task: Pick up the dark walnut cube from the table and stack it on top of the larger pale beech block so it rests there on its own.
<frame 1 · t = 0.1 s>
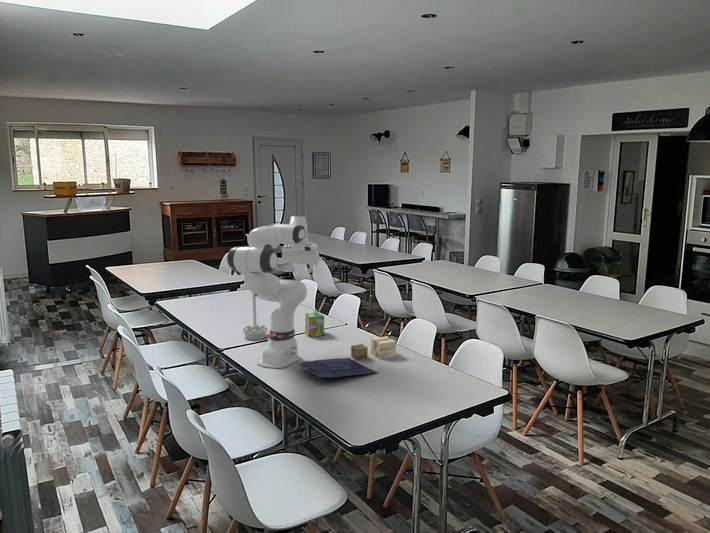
hand: (301, 271, 276), 39 cm above the table, fingers open, 8 cm apart
flag stand: (255, 336, 295), on the table
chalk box: (314, 334, 298), on the table
beech block: (383, 355, 264), on the table
walnut cube: (359, 358, 260), on the table
dark flat piece: (336, 372, 242), on the table
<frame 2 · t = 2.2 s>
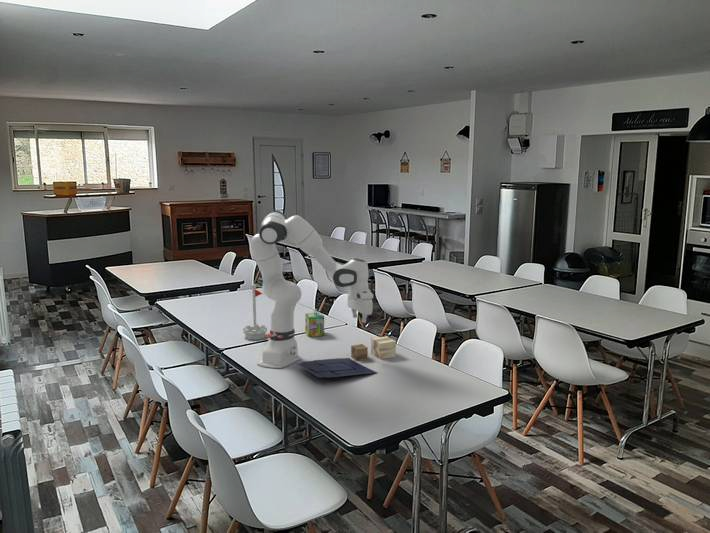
hand: (359, 319, 257), 19 cm above the table, fingers open, 8 cm apart
nothing on the table moved.
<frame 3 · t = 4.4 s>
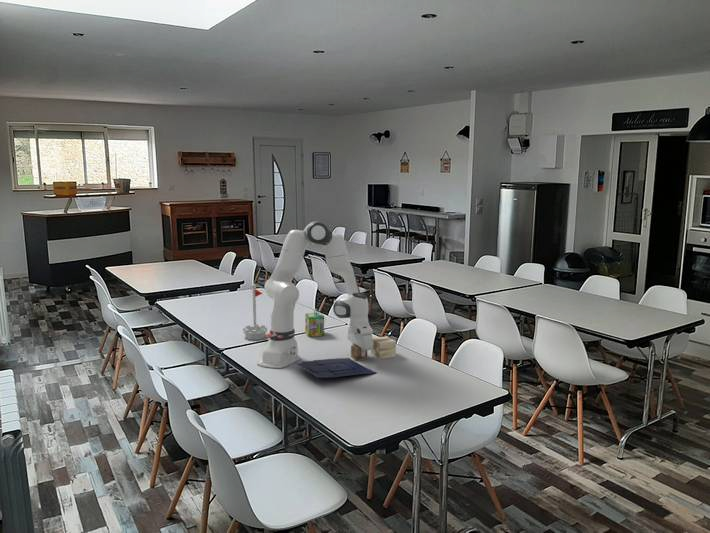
hand: (359, 353, 260), 2 cm above the table, fingers closed on walnut cube, 6 cm apart
walnut cube: (359, 358, 260), on the table, touching gripper
everything else where it was.
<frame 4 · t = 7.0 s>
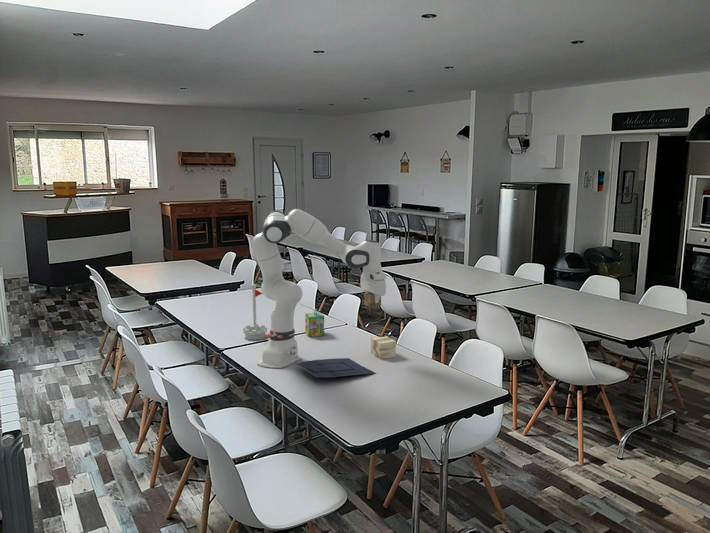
hand: (372, 301, 257), 28 cm above the table, fingers closed on walnut cube, 6 cm apart
walnut cube: (372, 305, 257), point 26 cm above the table, touching gripper
everything else where it was.
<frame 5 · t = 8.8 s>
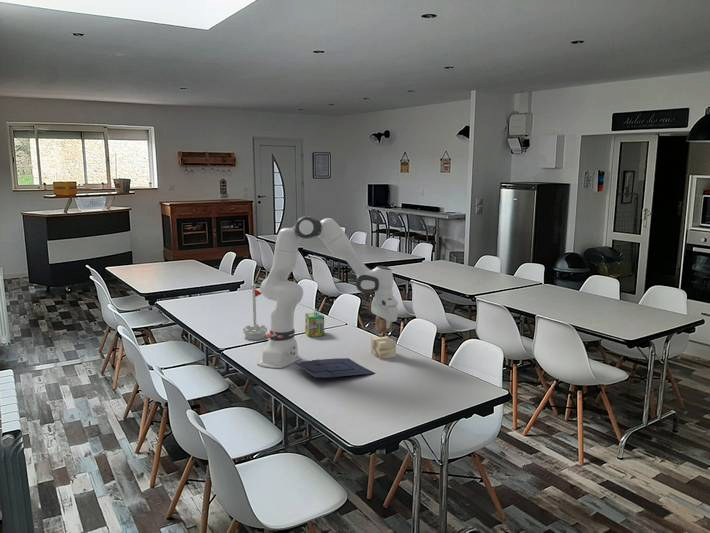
hand: (383, 326, 262), 15 cm above the table, fingers closed on walnut cube, 6 cm apart
walnut cube: (383, 330, 262), point 13 cm above the table, touching gripper
when the fingers open (11 cm above the table, at t = 10.0 s): walnut cube drops 1 cm, point 8 cm above the table.
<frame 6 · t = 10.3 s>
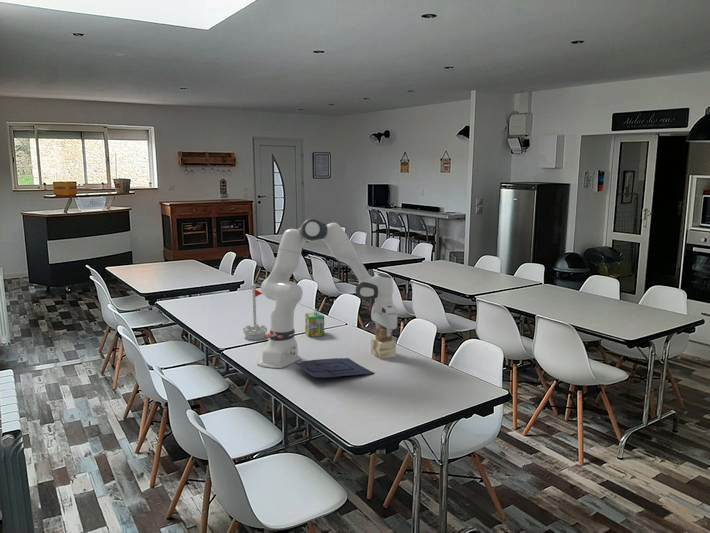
hand: (383, 333, 262), 11 cm above the table, fingers open, 8 cm apart
walnut cube: (383, 339, 263), point 8 cm above the table
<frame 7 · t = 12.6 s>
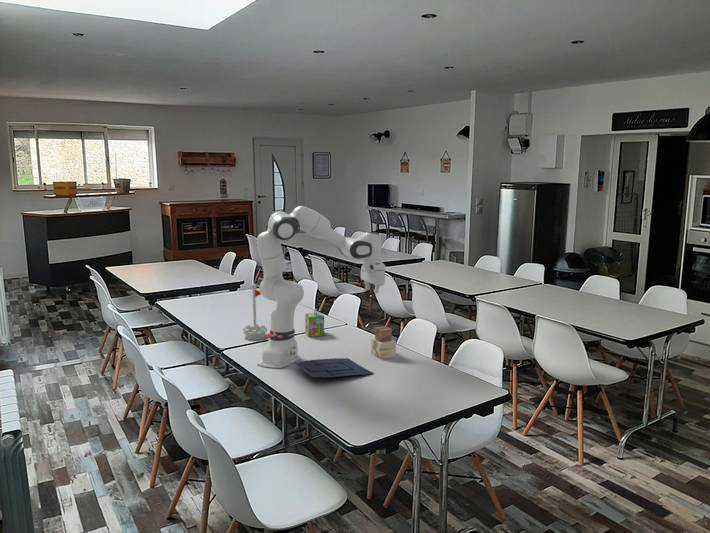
hand: (371, 291, 267), 31 cm above the table, fingers open, 8 cm apart
beech block: (383, 355, 264), on the table, touching walnut cube
walnut cube: (383, 339, 263), point 8 cm above the table, touching beech block
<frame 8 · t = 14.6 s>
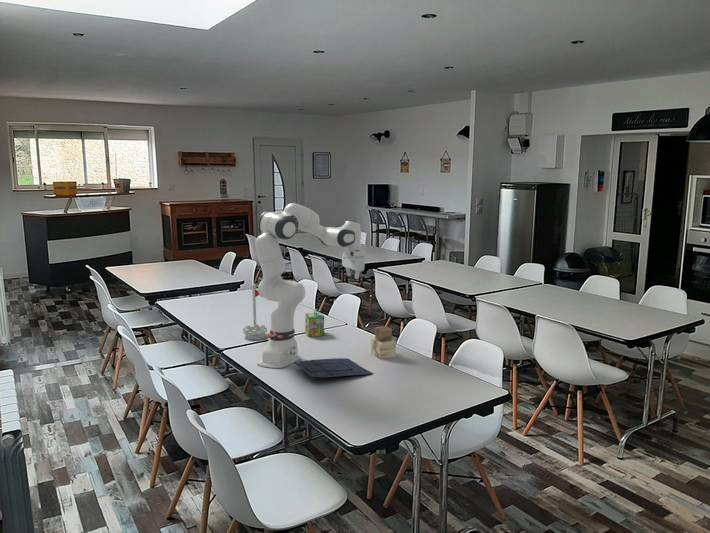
hand: (352, 277, 281), 35 cm above the table, fingers open, 8 cm apart
at the end: walnut cube inside the target area on the beech block (0.3 cm from its centre), point 8.0 cm above the beech block's base; the gripper is holding nothing; walnut cube touching beech block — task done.
